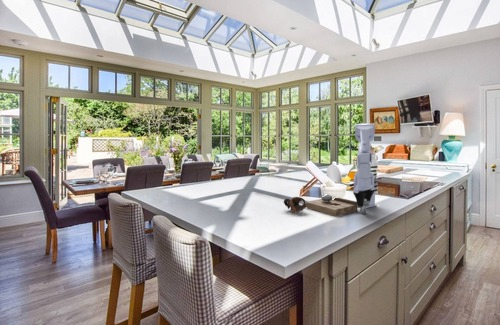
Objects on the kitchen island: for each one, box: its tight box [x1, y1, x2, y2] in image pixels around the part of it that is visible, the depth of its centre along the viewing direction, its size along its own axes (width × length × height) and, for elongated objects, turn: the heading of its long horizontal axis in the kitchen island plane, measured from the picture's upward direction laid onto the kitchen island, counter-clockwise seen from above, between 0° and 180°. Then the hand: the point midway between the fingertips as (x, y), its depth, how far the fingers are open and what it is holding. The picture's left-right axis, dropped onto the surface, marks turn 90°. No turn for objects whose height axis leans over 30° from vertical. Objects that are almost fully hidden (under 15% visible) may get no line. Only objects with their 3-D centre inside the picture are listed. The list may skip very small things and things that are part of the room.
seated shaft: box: [320, 193, 332, 203], centre depth 152 cm, size 5×5×7 cm
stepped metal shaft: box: [359, 198, 370, 215], centre depth 140 cm, size 5×5×7 cm
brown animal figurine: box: [283, 196, 307, 214], centre depth 147 cm, size 12×10×8 cm
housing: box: [305, 197, 359, 217], centre depth 150 cm, size 16×20×4 cm
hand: (363, 205), depth 140 cm, fingers closed on stepped metal shaft, 5 cm apart
